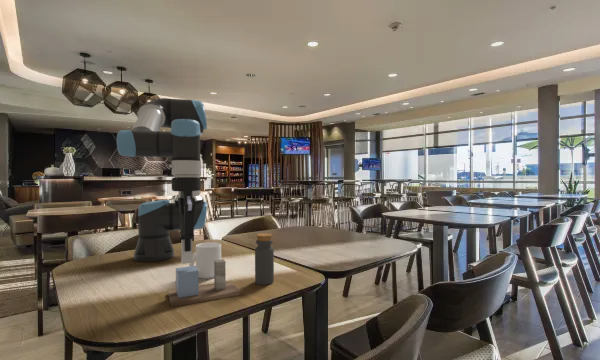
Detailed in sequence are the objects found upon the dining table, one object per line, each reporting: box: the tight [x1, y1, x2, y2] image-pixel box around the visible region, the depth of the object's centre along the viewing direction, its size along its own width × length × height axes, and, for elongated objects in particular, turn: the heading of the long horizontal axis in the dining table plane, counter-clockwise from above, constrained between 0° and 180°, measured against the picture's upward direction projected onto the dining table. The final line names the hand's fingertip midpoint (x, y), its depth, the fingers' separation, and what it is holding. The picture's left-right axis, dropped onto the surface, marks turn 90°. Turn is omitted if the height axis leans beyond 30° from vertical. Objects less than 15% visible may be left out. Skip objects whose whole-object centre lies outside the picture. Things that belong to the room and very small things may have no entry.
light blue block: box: [175, 265, 200, 298], centre depth 88 cm, size 5×5×7 cm
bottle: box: [254, 232, 275, 286], centre depth 101 cm, size 6×6×15 cm
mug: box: [188, 241, 222, 280], centre depth 107 cm, size 12×8×10 cm
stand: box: [167, 258, 241, 308], centre depth 90 cm, size 10×18×9 cm, turn 118°
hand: (187, 262), depth 88 cm, fingers closed
